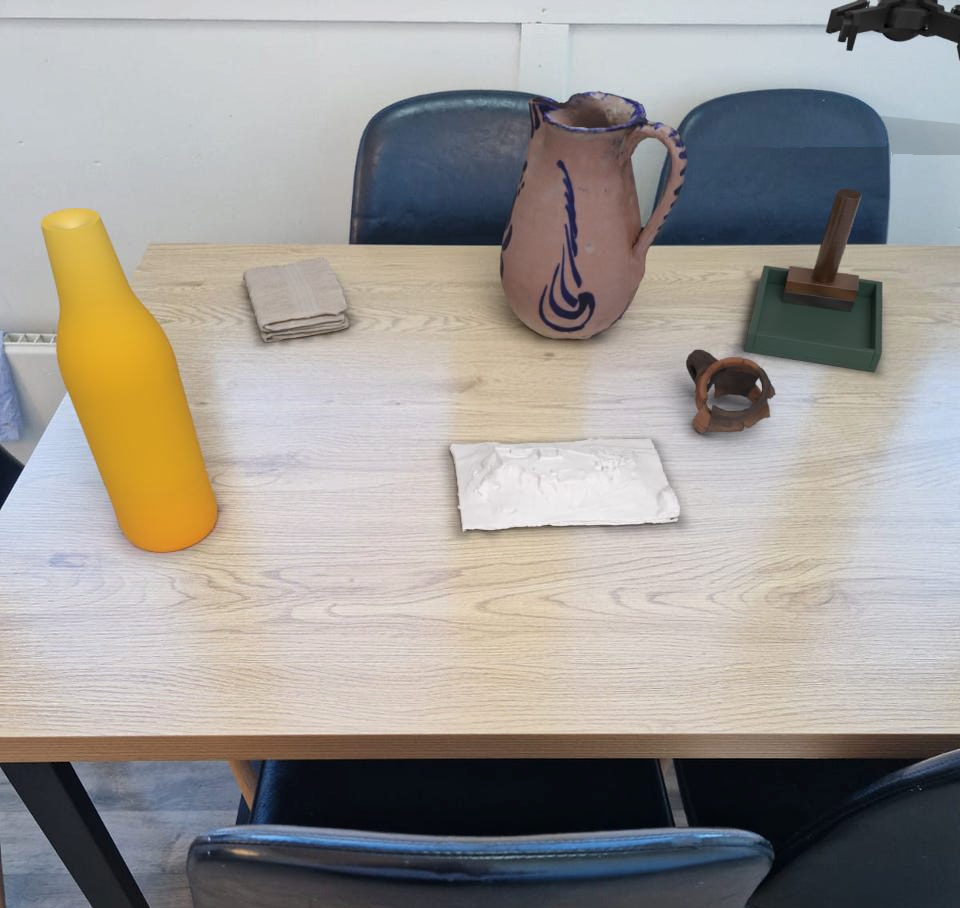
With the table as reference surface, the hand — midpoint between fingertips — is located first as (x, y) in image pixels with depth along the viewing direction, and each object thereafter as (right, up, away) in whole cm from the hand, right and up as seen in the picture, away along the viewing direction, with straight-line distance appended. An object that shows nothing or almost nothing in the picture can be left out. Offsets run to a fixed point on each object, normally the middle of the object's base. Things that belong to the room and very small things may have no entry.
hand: (909, 43), depth 108 cm
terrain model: (-45, -59, -18) cm, 76 cm away
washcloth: (-78, -30, +7) cm, 84 cm away
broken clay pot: (-26, -49, -9) cm, 57 cm away
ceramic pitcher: (-41, -34, +4) cm, 53 cm away
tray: (-10, -33, +5) cm, 35 cm away
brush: (-8, -29, +8) cm, 31 cm away
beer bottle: (-84, -63, -23) cm, 108 cm away
